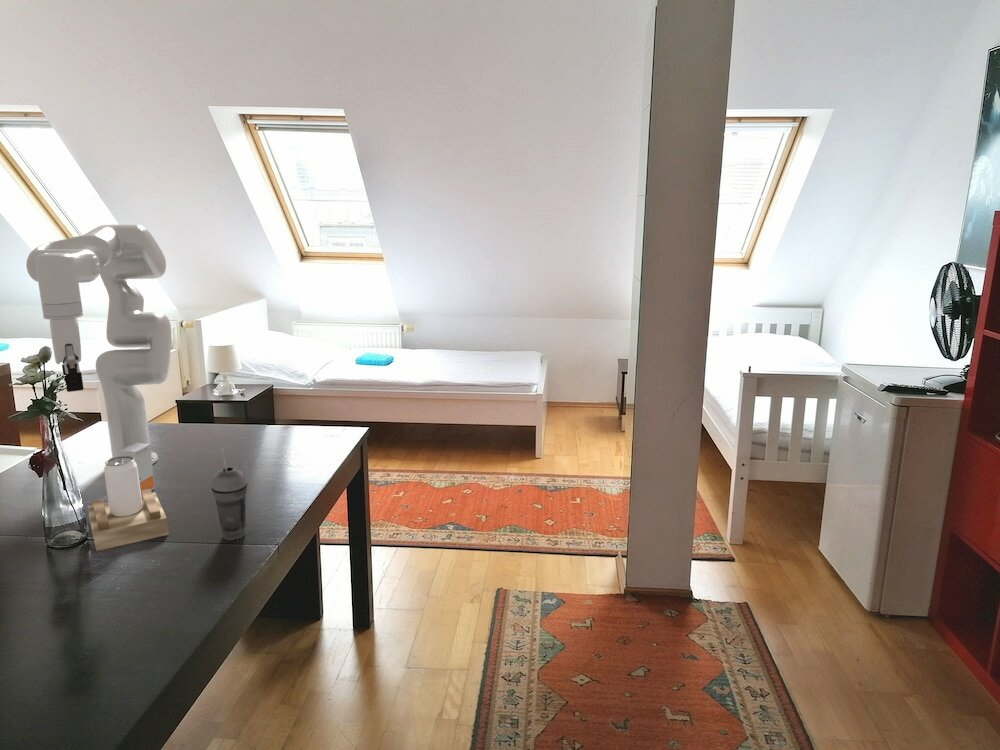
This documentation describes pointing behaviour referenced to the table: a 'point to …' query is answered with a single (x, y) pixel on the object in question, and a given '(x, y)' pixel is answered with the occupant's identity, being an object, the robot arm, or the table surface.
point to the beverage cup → (230, 500)
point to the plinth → (127, 523)
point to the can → (123, 486)
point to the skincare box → (142, 463)
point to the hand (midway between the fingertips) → (73, 385)
